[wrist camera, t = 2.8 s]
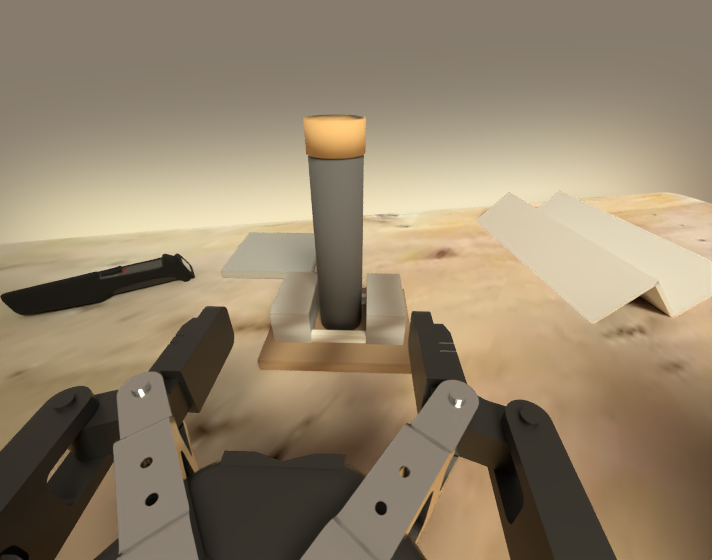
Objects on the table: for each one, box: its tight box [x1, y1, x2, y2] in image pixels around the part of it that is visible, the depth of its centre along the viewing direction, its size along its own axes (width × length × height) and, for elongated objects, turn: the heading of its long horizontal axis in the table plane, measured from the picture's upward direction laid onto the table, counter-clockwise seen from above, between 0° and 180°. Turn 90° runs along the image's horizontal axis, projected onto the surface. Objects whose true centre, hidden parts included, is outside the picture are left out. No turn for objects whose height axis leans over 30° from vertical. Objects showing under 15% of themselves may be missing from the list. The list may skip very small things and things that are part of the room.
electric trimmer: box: [0, 254, 195, 315], centre depth 32 cm, size 4×16×3 cm, turn 121°
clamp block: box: [258, 272, 412, 373], centre depth 27 cm, size 12×10×4 cm
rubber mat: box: [221, 233, 316, 279], centre depth 39 cm, size 10×10×1 cm
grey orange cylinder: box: [303, 115, 366, 331], centre depth 24 cm, size 4×4×16 cm
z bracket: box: [476, 191, 712, 323], centre depth 39 cm, size 12×25×6 cm
